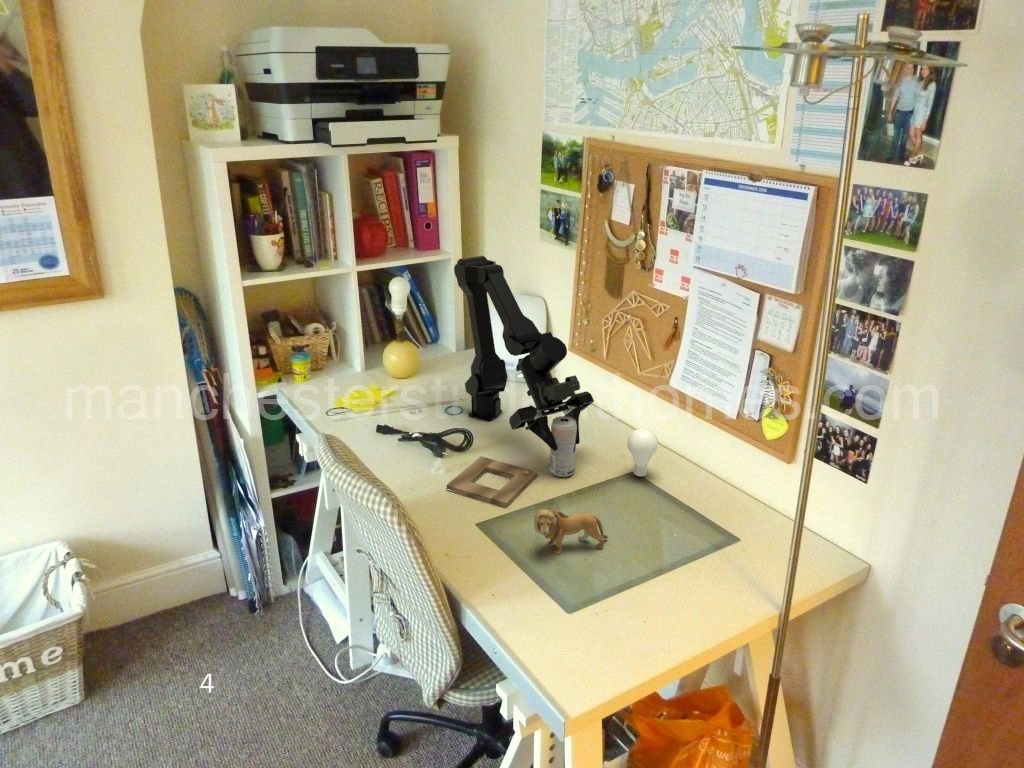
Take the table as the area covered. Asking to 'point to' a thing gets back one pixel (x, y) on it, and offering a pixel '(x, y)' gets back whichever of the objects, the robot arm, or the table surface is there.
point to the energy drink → (563, 446)
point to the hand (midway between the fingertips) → (567, 446)
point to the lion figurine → (567, 527)
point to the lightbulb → (642, 449)
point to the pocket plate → (497, 497)
